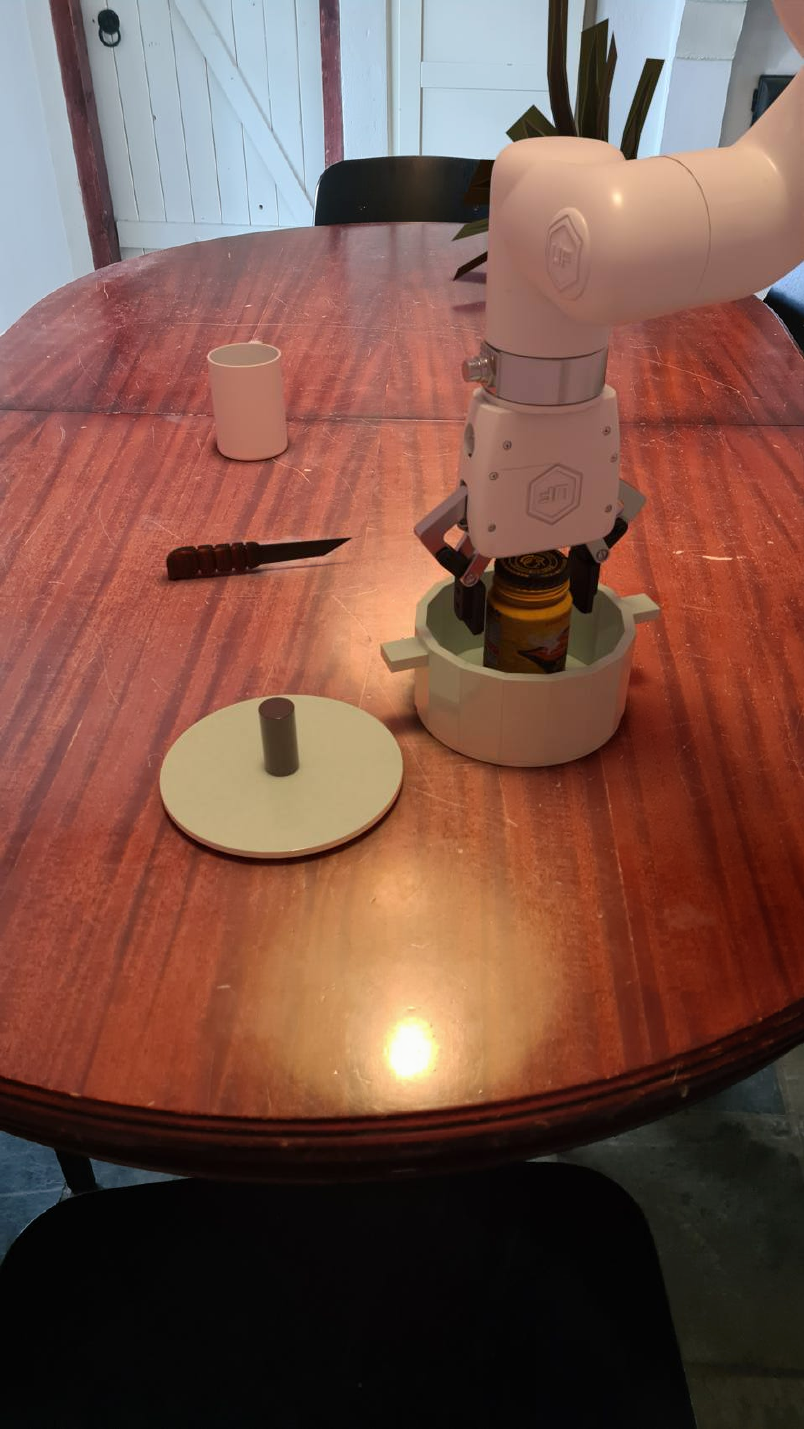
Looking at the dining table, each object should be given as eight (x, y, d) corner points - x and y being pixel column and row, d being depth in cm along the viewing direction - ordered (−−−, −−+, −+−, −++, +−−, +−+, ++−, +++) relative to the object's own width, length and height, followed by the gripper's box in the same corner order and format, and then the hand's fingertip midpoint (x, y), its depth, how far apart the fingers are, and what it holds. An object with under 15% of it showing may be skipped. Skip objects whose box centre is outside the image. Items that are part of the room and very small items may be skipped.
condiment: (569, 729, 75) (586, 585, 68) (452, 726, 75) (457, 582, 68) (562, 671, 81) (577, 533, 73) (454, 669, 81) (458, 531, 74)
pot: (693, 733, 75) (711, 647, 71) (422, 796, 70) (423, 708, 65) (594, 624, 87) (604, 545, 83) (356, 671, 82) (352, 589, 77)
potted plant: (737, 137, 170) (525, -31, 158) (862, 94, 134) (599, -127, 122) (585, 383, 182) (377, 245, 170) (662, 404, 146) (405, 231, 134)
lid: (437, 830, 67) (439, 757, 64) (183, 892, 63) (168, 817, 59) (362, 689, 80) (360, 621, 76) (146, 733, 76) (132, 663, 72)
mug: (283, 462, 114) (275, 367, 107) (212, 461, 114) (200, 366, 108) (296, 420, 123) (290, 330, 117) (230, 419, 124) (221, 330, 117)
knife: (353, 560, 96) (351, 531, 94) (354, 565, 95) (353, 536, 93) (169, 576, 94) (164, 546, 92) (168, 581, 93) (164, 551, 91)
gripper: (431, 408, 58) (428, 665, 69) (701, 373, 63) (659, 619, 73) (389, 366, 64) (392, 610, 74) (640, 336, 68) (609, 570, 79)
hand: (525, 613), depth 74 cm, fingers open, 7 cm apart
